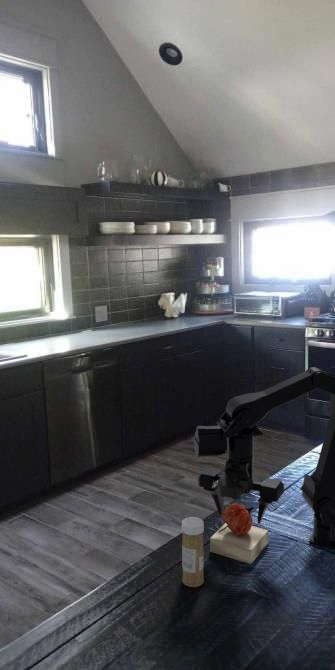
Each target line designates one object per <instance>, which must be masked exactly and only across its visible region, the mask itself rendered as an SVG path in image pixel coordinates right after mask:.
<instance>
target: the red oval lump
mask: <svg viewBox="0 0 335 670" xmlns="http://www.w3.org/2000/svg"><path fill="white" fill-rule="evenodd" d="M253 510H255V507H254V506H252V507H246V506H245V505H243V504H241V503H237V502H235V503H230V504H229V505H227V506H226V507H225V508H224V509H223V513H222V515H221V519H222V520H223V521H224V524H225V523H226V524H227V526H226V527H225V528H223V529H222V530H220V531H219V532H221V531H223V530H225V529H226V528H227V527H228V528H229V529H230V530H231V531H232V532H233V533H234V534H235V535H236V536H243V535H245V534H247V533H248V532H249V531H250V529H251V527H252V526H253V520H254V519H253V517H252V514H251V512H252V511H253Z"/></svg>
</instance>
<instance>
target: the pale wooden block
mask: <svg viewBox="0 0 335 670" xmlns="http://www.w3.org/2000/svg"><path fill="white" fill-rule="evenodd" d="M226 526H227V524H226V523H225V522H224V524H222V526H221V527H220V528H219V529H218V530H217V531H215V533H214V534H213V535H211V537H210V538H209V539H210V540H209V542H210V543H209V544H210V545H209V546H210V548H209V552H211V553H214V554H216V555H220V556H223V557H227V558H230V559H233V560H235V561H240V562H242V563H243V562H244V563H245V564H246V563H247V564H249V565H252V564H253V562H254V561H256V559H257V558H258V556H259V555H260V554H261V553H262V551H263V550H264V549H265V548H266V547H267V545H268V544H269V529H265V528H262V527H259V526H255V525H252V527H251V529H250V531H249V532H248V533H247V534H245V535H243V536H236V535H235V534H234V533H233V532H232V531H231V530H230V529H229V528H228V527H227V528H226V529H225V530H223V531H221V532H219V531H220V530H222V529H223V528H225V527H226Z"/></svg>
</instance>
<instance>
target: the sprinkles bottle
mask: <svg viewBox="0 0 335 670" xmlns="http://www.w3.org/2000/svg"><path fill="white" fill-rule="evenodd" d="M204 523H205V522H204V520H203V519H201V518H199V517H196V516H189V517H185V518H184V519H182V521H181V534H182V543H181V544H182V545H181V547H182V548H181V553H182V554H181V555H182V559H181V560H182V566H181V568H182V579H181V580H182V583H183V585H184V586H186V587H189V588H197V587H200V586H202V585H203V584H204V581H205V579H204V531H205V524H204Z"/></svg>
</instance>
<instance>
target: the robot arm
mask: <svg viewBox="0 0 335 670" xmlns="http://www.w3.org/2000/svg"><path fill="white" fill-rule="evenodd" d="M317 389H320V390H323V391H325V392H327V393H329V405H330V416H329V419H328V423H327V428H326V430H325V434H324V438H323V442H322V446H321V449H320V453H319V457H318V460H317V464H316V468H315V469H314V471H313V472H312V473H311V474H310V475H309V474H307V473H306V474H304V477H303V483H302V486H301V487H300V491H301V492H302V493H301V496H302V498H303V500H304V501H305V503H306V504H307V505H308V507H309V508H310V509H311V510H312V511H313V527H312V528H313V530H312V533H311V535H310V537H309V538H308V543H310V544H314V545H317V546H323V547H326V548H327V547H328V548H330V549H335V374H333V373H330V372H327V371H324V370H321V369H320V368H318V367H315V366H313V367H308V368H307V369H306V370H305V371H303V372H300V373H299V374H296V375H294V376H292V377H290V378H288V379H285V380H283V381H281V382H279V383H277V384H275V385H272V386H270V387H268V388H266V389H264V390H261V391H259V392H258V391H257V392H251V393H243V394H241V395H237V396H234V397H232V398H231V399H229V400H228V401H227V404H226V407H225V408H226V409H225V411H224V412H223V413H222V414H221V416H220V418H219V419H218V420H217V422H216V424H217V425H207V426H205V425H197V426H196V428H195V430H196V431H195V433H194V437H193V448H194V453H195V457H196V458H209V457H222V456H224V455H225V454H226V452H227V459H226V460H225V467H224V470H223V469H220V468H216V467H210V466H208V467H207V468H205V470H203V471H202V472H201V473H200V474H199V475H198V478H197V483H198V486H199V487H200V488H203V490H204V491H206V492H208V493H209V494H210V495H211V497H212V499H213V501H214V504H215V506H216V509H217V512H218V515H220V516H222V513H223V511H224V509H225V508H224V507H225V506H224V505H225V504H224V502H225V497H226V498H231V499H232V500H239V499H241V496H243V495H244V494H246V495H249V494H250V492H251V491H254V492H258V493H259V495H258V496H259V498H258V499H257V501H258V502H257V503H258V512H257V524H258V525H260V524H261V523H262V521H263V518H264V516H265V513H266V511H267V508H268V506H269V505H271V504H273V503H274V502H276V503H277V502H278V501H279V500H280V498H281V497H282V495H283V494H284V492H285V485H284V483H283V481H282V480H278V479H273V478H269V477H268V478H267V477H266V478H265V480H264V481H263V482H260V481H255V480H254V478H255V474H256V473H255V472H254V462H255V460H256V455H254V454H255V453H254V452H255V449H254V447H255V446H254V445H255V442H254V441H255V439H254V438H255V437H259V436H260V437H261V436H264V432H263V431H262V430H261V429H260V428H259V427H258V424H257V423H259V422H261V421H262V420H263V419H264V418H265V417H266V416H267V414H268V413H269V412H271V411H273V410H274V409H277V408H278V407H281V406H283V405H285V404H288V403H290V402H291V401H293V400H295V399H298V398H300V397H302V396H305V395H306V394H307V395H308V394H309V393H310V392H313V391H316V390H317Z"/></svg>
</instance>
